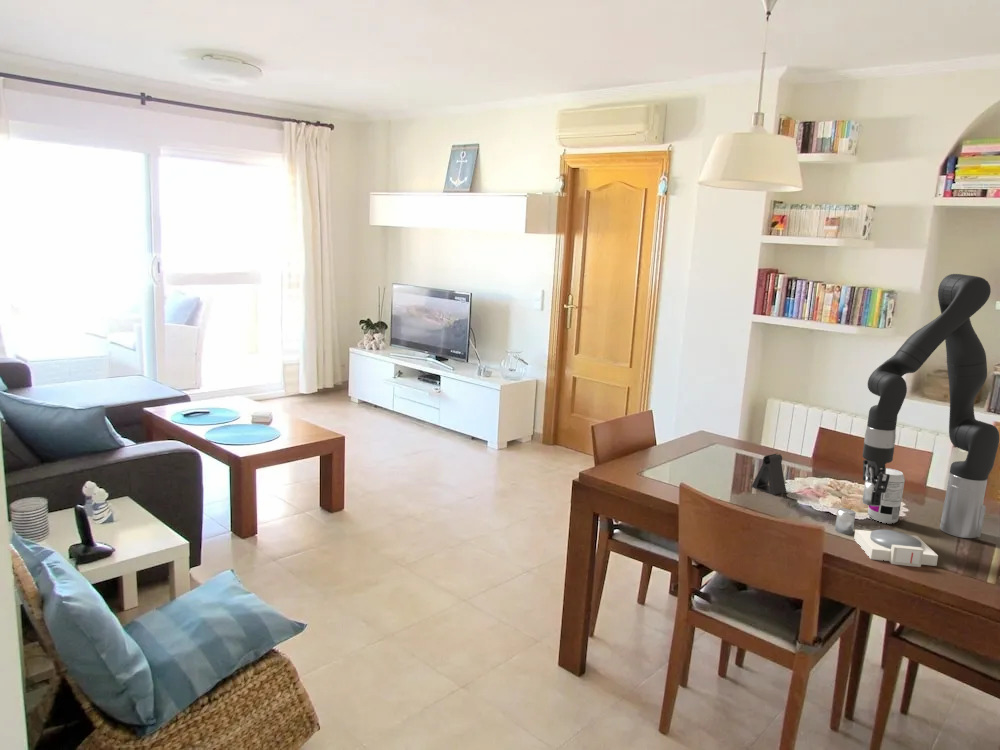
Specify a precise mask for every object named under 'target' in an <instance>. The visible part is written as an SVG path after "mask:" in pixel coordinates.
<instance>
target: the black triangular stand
mask: <svg viewBox="0 0 1000 750" xmlns="http://www.w3.org/2000/svg"><path fill="white" fill-rule="evenodd" d="M782 462H783V456H782V454H779V453H773V454H768V455H764V456H763V458H762V464H761V466H760V468H759V470H758V473H757V475H756V476H755V478H754V480H753V482H752V484H751V488H753V489H755V490H758V491H761V492H764V493H767V494H769V495H772V496H777V495H781V494H784V493H785V494H786V493H787V488H786V482H785V477H784V470H783V466H782Z"/></svg>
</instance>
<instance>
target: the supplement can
mask: <svg viewBox="0 0 1000 750" xmlns="http://www.w3.org/2000/svg"><path fill="white" fill-rule="evenodd" d="M885 468H886V474H889V475H890V478H889V481H888V485H887V489H886V492H885V493H882V499H881V505H880V506H869V505H868V507H867V509H868V510H867V516H868V515H869V516H870V517H871V518H872V519H874V520H877V521H879V522H878V523H880V522H882V523H881V524H886V523H887V525H888V524H889V525H893V524H895V523H897V522H898V521H899V517H900V512H901V505H902V499H903V492H904V486H905V481H906V480H905V475H904V473H903V472H902V471H900V470H899V469H898V470H897V469H894V468H889V467H885ZM876 481H877V480H876ZM869 516H868V517H869ZM870 517H869V518H870ZM871 518H870V519H871ZM872 519H871V520H872ZM874 520H873V521H874ZM877 521H876V522H877ZM892 523H893V524H892Z"/></svg>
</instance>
